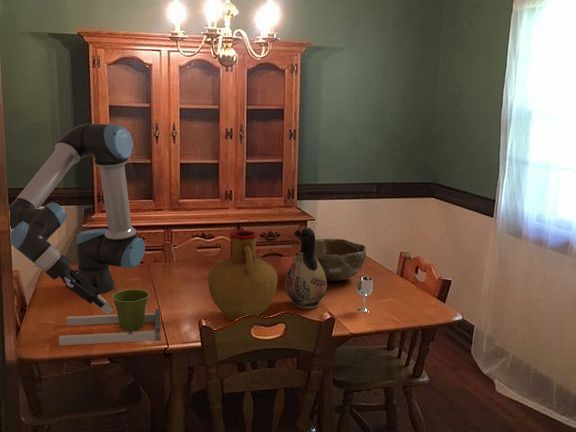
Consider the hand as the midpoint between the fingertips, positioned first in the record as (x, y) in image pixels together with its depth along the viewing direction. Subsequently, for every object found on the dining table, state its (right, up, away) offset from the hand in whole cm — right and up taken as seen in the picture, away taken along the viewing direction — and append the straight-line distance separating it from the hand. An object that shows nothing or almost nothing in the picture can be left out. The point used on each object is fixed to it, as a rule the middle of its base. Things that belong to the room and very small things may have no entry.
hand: (110, 311), depth 200 cm
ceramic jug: (+63, -3, +31) cm, 70 cm away
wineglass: (+84, -4, +27) cm, 89 cm away
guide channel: (0, -7, +1) cm, 7 cm away
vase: (+41, -5, +17) cm, 44 cm away
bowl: (+76, +3, +63) cm, 99 cm away
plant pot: (+5, -6, +5) cm, 10 cm away
